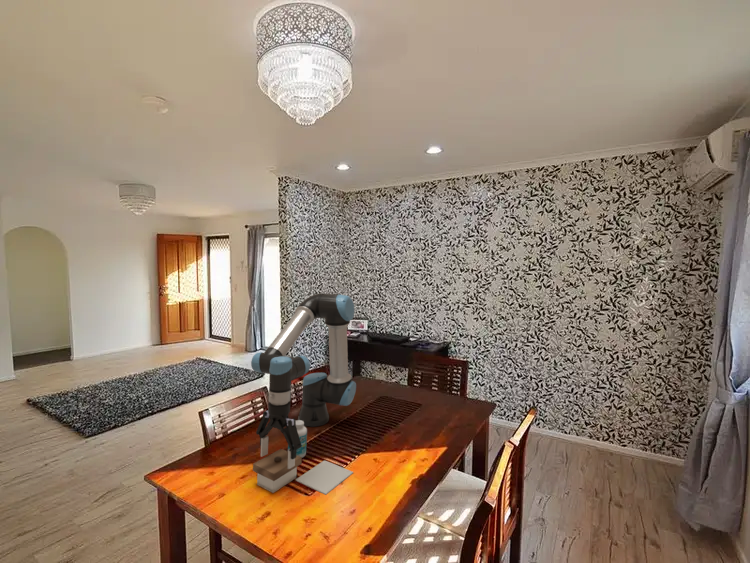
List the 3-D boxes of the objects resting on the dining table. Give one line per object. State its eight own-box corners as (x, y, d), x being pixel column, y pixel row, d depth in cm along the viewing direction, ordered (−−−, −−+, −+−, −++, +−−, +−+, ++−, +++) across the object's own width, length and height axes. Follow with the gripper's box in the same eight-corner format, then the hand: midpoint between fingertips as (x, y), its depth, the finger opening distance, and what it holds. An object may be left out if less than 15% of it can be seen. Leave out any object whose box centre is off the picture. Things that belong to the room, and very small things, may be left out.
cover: (252, 470, 125) (253, 461, 125) (280, 455, 136) (281, 446, 136) (273, 481, 120) (274, 471, 120) (301, 464, 131) (301, 455, 131)
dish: (257, 484, 126) (257, 470, 125) (280, 470, 135) (281, 457, 135) (273, 493, 121) (273, 478, 121) (296, 477, 131) (296, 464, 131)
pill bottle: (290, 461, 141) (291, 427, 141) (285, 452, 148) (286, 420, 147) (308, 457, 145) (309, 424, 144) (303, 449, 151) (304, 417, 151)
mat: (295, 480, 129) (295, 479, 129) (324, 461, 142) (324, 460, 142) (325, 494, 122) (325, 493, 121) (353, 473, 135) (353, 471, 135)
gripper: (247, 396, 131) (245, 454, 131) (297, 413, 117) (295, 477, 118) (263, 391, 137) (261, 446, 137) (313, 406, 124) (310, 467, 124)
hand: (277, 461), depth 128 cm, fingers open, 13 cm apart
